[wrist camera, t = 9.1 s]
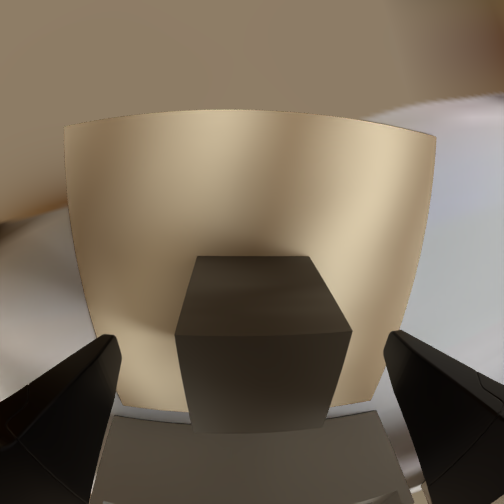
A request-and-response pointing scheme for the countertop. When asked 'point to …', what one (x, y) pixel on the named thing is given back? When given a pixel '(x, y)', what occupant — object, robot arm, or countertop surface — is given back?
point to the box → (250, 465)
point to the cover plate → (247, 257)
